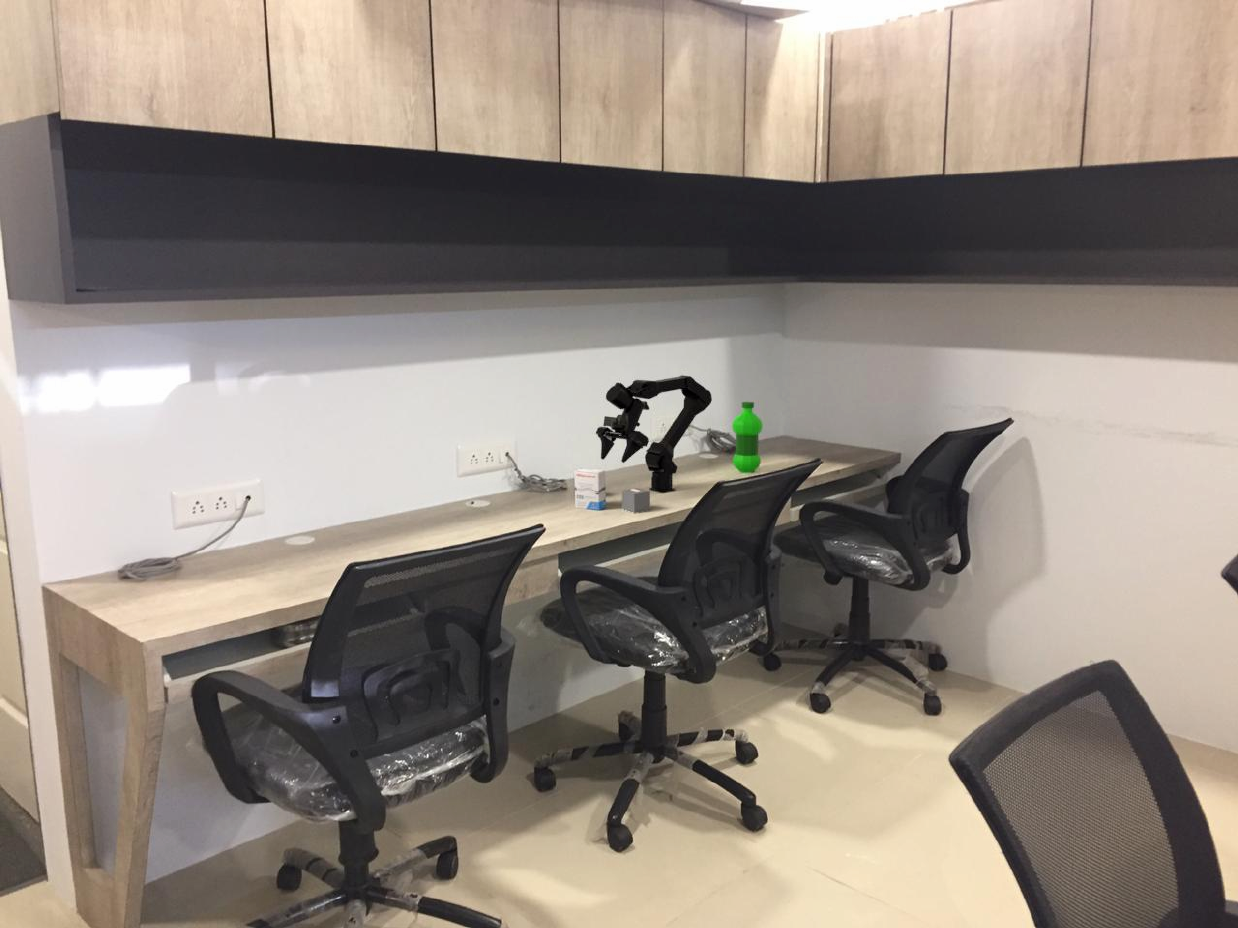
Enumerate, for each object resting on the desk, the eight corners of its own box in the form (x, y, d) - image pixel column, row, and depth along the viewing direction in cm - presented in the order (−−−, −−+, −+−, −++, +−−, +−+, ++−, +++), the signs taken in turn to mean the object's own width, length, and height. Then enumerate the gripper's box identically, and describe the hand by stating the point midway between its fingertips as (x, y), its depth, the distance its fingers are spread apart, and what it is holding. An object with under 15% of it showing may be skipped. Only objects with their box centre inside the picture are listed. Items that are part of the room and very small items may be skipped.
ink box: (606, 507, 302) (606, 469, 300) (598, 511, 298) (598, 472, 296) (582, 504, 306) (581, 467, 304) (574, 508, 302) (573, 470, 300)
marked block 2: (637, 507, 303) (637, 487, 302) (649, 510, 298) (649, 490, 297) (621, 509, 299) (621, 489, 298) (634, 513, 295) (634, 493, 294)
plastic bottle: (761, 474, 351) (763, 404, 346) (731, 473, 352) (733, 404, 347) (761, 468, 360) (762, 400, 356) (731, 468, 362) (733, 400, 357)
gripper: (594, 402, 313) (575, 446, 310) (636, 406, 300) (617, 452, 297) (616, 418, 321) (597, 461, 317) (657, 423, 308) (639, 468, 304)
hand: (612, 460), depth 309 cm, fingers open, 9 cm apart
